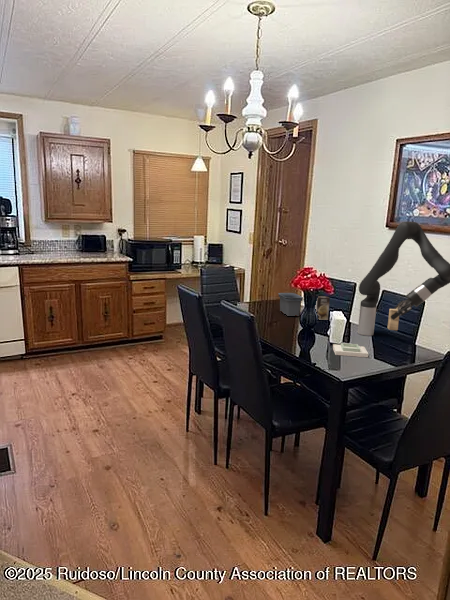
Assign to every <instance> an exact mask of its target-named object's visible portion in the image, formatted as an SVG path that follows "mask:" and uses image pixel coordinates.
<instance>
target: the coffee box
mask: <svg viewBox="0 0 450 600" xmlns="http://www.w3.org/2000/svg"><path fill="white" fill-rule="evenodd" d="M317 296H318V298H317V301H316V305H315V309H316V312H317V315H318V319H319V320H329V311H330V300H331V297H329V296H327V295H317Z"/></svg>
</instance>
